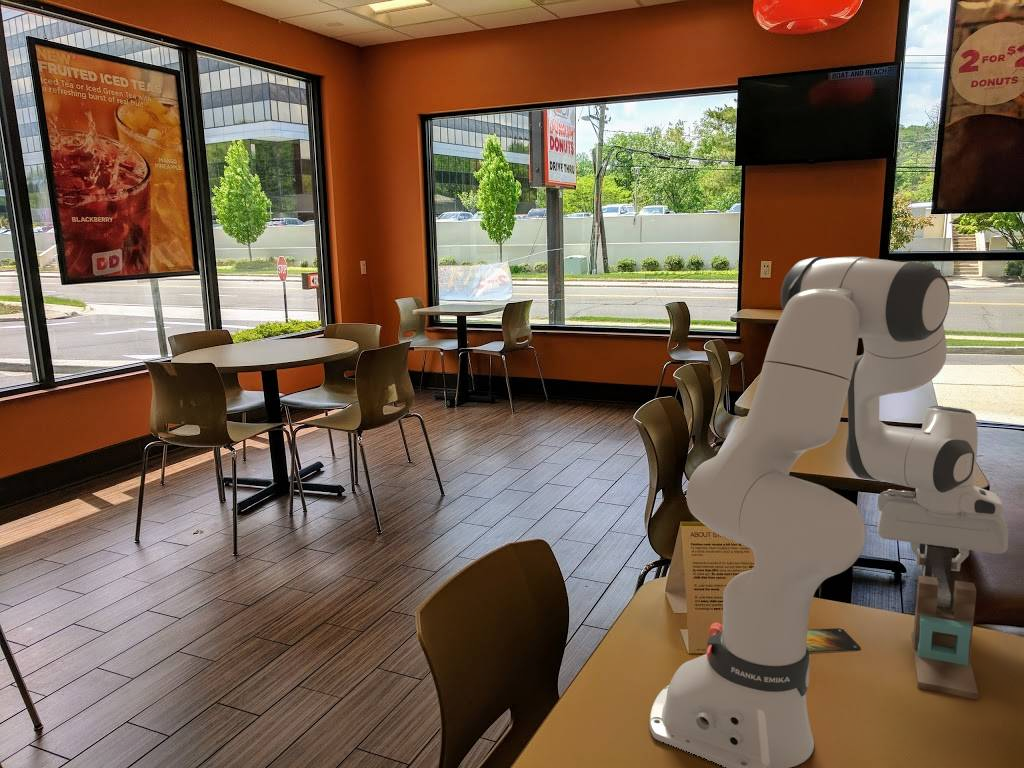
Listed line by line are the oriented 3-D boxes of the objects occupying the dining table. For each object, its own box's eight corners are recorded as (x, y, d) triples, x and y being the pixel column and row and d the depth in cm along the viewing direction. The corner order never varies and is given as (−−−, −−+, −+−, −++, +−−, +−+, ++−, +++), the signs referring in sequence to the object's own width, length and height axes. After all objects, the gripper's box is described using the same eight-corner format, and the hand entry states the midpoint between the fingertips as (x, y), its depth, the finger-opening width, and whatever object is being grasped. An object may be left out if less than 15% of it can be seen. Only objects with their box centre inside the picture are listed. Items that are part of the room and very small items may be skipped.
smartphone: (862, 649, 125) (776, 652, 124) (862, 652, 125) (776, 656, 124) (842, 627, 132) (760, 631, 131) (841, 631, 132) (760, 634, 131)
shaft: (929, 610, 124) (932, 571, 122) (922, 575, 136) (925, 540, 135) (956, 614, 122) (960, 575, 121) (947, 579, 134) (951, 543, 133)
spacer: (918, 656, 121) (921, 620, 120) (917, 650, 123) (920, 614, 121) (967, 665, 118) (971, 629, 117) (966, 659, 120) (969, 623, 118)
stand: (917, 687, 114) (924, 610, 112) (911, 637, 128) (917, 567, 126) (977, 699, 111) (985, 620, 108) (964, 646, 125) (971, 575, 123)
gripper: (878, 493, 132) (873, 565, 135) (1014, 507, 124) (1006, 583, 126) (878, 482, 138) (873, 551, 140) (1007, 495, 129) (999, 568, 132)
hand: (937, 567), depth 133 cm, fingers closed on shaft, 4 cm apart
